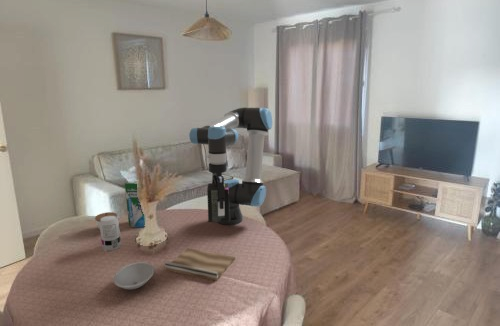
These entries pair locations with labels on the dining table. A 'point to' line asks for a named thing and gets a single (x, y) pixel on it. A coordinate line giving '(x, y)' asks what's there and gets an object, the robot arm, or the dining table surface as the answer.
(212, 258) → the shelf board
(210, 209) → the tampon box
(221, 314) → the dining table surface
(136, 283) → the dish
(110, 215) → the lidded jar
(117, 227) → the supplement can
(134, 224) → the milk carton
